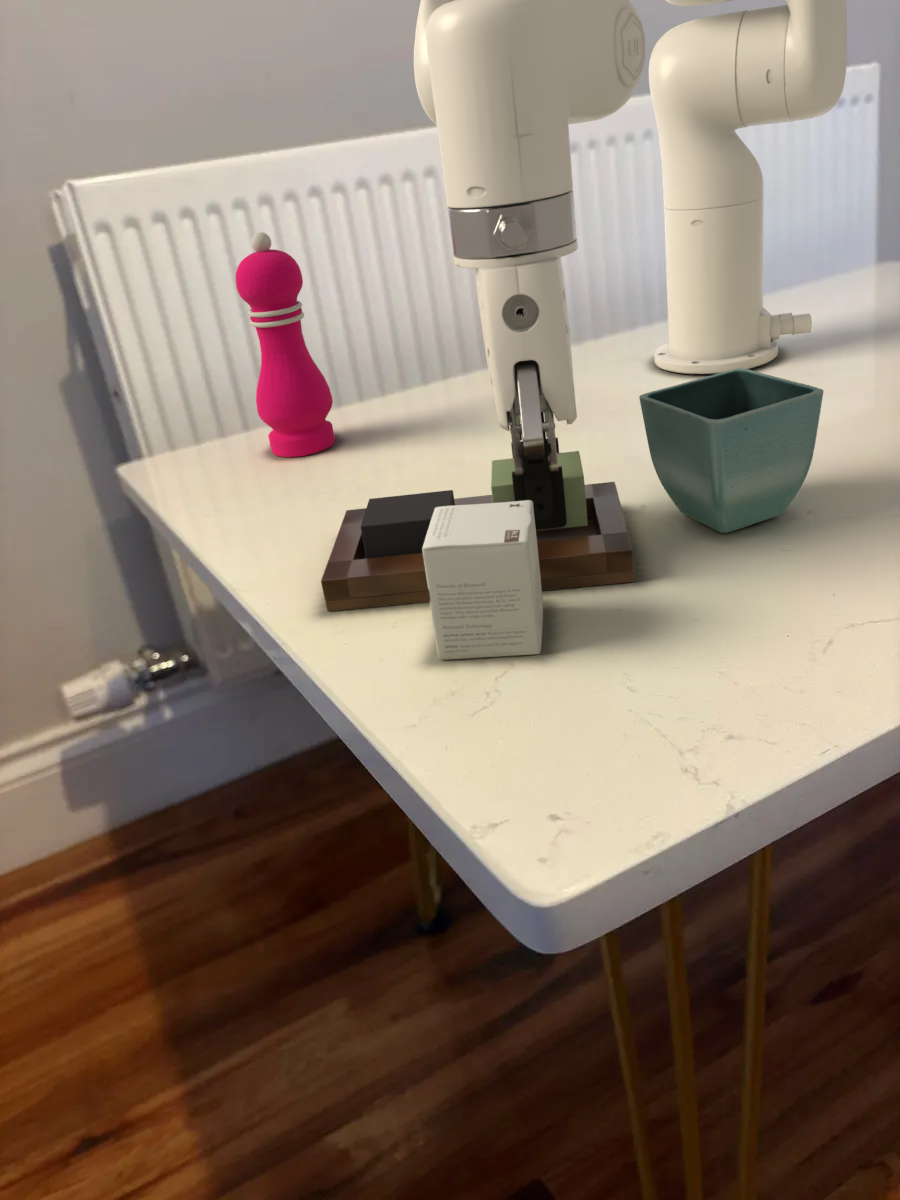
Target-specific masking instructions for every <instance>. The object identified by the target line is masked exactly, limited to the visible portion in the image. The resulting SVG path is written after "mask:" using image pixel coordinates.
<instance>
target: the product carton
mask: <svg viewBox="0 0 900 1200" xmlns="http://www.w3.org/2000/svg"><path fill="white" fill-rule="evenodd" d="M422 552H423V558H424V565H425V572H426V579H427V585H428V593H429V600H430V602H429V606H430V612H431V619H432V625H433V626H432V627H433V632H434V638H435V643H436V644H435V645H436V646H435V647H436V652H437V657H438V659H441V660H465V659H478V658H479V659H480V658H481V659H482V658H498V657H500V658H501V657H516V656H531V655H539V654H541V652H542V642H543V627H544V600H543V591H542V588H541V577H540V567H539V557H538V547H537V537H536V527H535V518H534V508H533V502H532V501H531V500H525V501H514V502H501V503H487V504H470V505H452V506H442V507H436V508H435V509H434V512H433V515H432V518H431V521H430V525H429V528H428V531H427V534H426V537H425V541H424V544H423V547H422Z"/></svg>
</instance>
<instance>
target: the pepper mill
mask: <svg viewBox="0 0 900 1200" xmlns="http://www.w3.org/2000/svg"><path fill="white" fill-rule="evenodd" d="M250 243H251V247H252V249H253V250H254V251H255V252H252V253H250V254H248V255H246V256H245V257H244V258H243V259H241V261H240V262H239V264H238V265H237V268H236V272H235V287H236V291H237V293H238V295H239V296H240V298H241V299H242V300H243V301H244V302H245V303H246V304H247V305H248V306H249V307H250V309H249V310H248V311H247V315H248V317H249V319H250V321H249V325H250V326H251V327H252V328H255V331H256V334H257V337H258V340H259V347H260V370H259V375H258V381H257V386H256V394H255V395H256V396H255V403H256V411H257V415H258V417H259V419H260V420H261V421H262V422H263V423H264V424H266V425H267V426H268V427H269V428H271V429H272V430H271V431H270V432H269V434H268V442H269V446H270V450H271V453H272V454H273V455H275V456H277V457H281V458H298V457H306V456H311V455H313V454H317V453H320V452H322V451H325V450H327V449H328V448H331V447H332V446H333V445H334V444H335V442H336V437H335V431H334V427H333V423H332V422H330V421H329V420H327V419H326V418H327V417H328V416H329V413H330V412H331V410H332V406H333V403H334V402H333V401H334V400H333V396H332V392H331V388H330V386H329V384H328V382H327V380H326V378H325V376H324V374H323V373H322V372H321V370H320V369H319V367H318V365H317V363H316V362H315V361H314V359H313V357H312V356H311V354H310V351H309V350H308V347H307V345H306V342H305V338H304V335H303V330H302V329H303V328H302V320H303V318H304V317H305V313H304V311H303V308H302V307H303V302H301V301H300V300H298V296H299V294H300V292H301V291H302V288H303V284H304V279H303V275H302V270H301V267H300V266H299V263H298V262H297V260H296V259H295V258H294V257H293V256H291V255H290V254H289V253H287V252H285V251H283V250H279V249H274V248H273V249H271V248H272V238H271V237H270V236H269V235H268V234H267V233H266V232H263V231H259V232H256V233H255V234H253V235H252V237H251V240H250Z"/></svg>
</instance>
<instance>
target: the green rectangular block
mask: <svg viewBox="0 0 900 1200" xmlns="http://www.w3.org/2000/svg"><path fill="white" fill-rule="evenodd" d="M548 457H549V456H548ZM557 459H558V467H559V466H562V473H563V484H564V495H565V506H566V518H567V523H566V525H565V526H564V527H560V528H550V529H541V530H536V531H542V530H551V529H561V528H571V527H580V526H587V525H588V522H587V509H586V497H585V485H586V483H585V475H584V470H583V465H582V460H581V454H580V451H579V450H575V451H566V452H559V453H557ZM549 468H550V466H549ZM523 470H524V469H523ZM514 471H515V467H514V458H513V457H511V458H501V459H493V460H491V477H490V478H491V480H490V489H491V495H492V498H493V503H501V502H514V501H515V498H514V489H513V480H512V472H514Z"/></svg>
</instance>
